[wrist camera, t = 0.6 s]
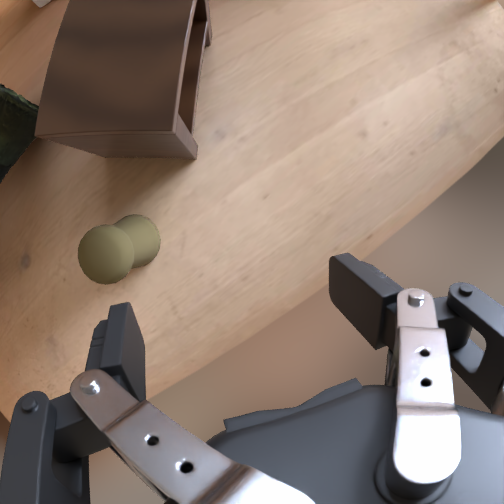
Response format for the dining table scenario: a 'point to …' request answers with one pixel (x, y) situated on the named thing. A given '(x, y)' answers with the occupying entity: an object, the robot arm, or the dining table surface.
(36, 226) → the dining table surface
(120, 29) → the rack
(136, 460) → the robot arm
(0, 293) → the dining table surface
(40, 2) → the medicine bottle
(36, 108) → the carnation
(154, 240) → the cork
